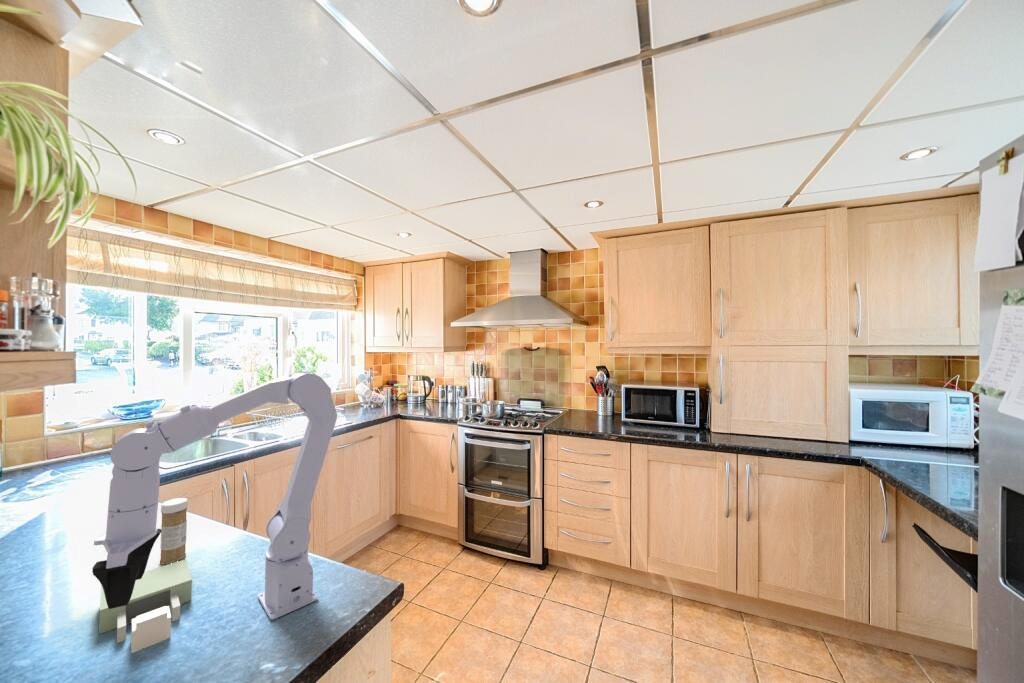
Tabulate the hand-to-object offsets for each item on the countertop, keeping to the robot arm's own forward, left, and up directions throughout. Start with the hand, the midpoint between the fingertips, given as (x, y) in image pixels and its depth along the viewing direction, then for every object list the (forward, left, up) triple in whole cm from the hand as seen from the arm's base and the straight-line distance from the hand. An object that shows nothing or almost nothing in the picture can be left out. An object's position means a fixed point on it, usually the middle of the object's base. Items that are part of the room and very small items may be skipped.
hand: (126, 592), depth 60 cm
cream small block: (+2, -3, -10) cm, 11 cm away
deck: (+12, -3, -10) cm, 15 cm away
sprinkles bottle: (+30, -8, -10) cm, 33 cm away
